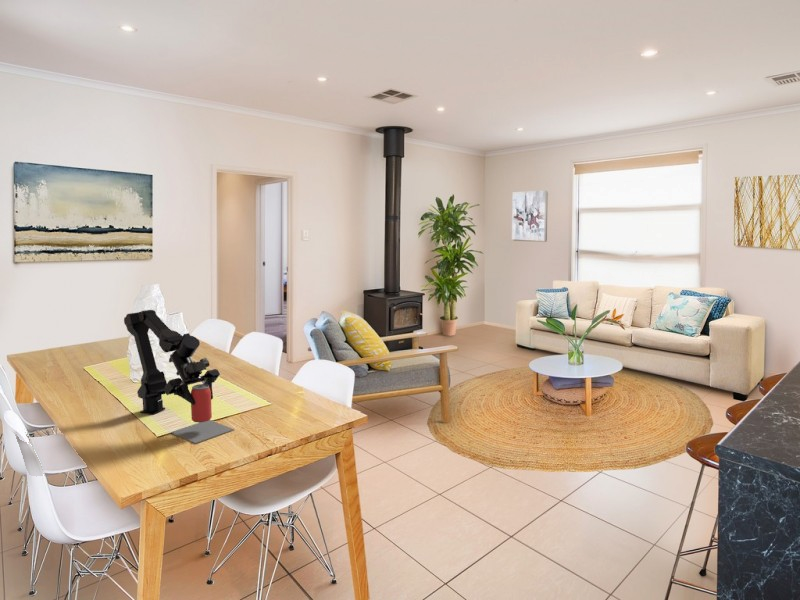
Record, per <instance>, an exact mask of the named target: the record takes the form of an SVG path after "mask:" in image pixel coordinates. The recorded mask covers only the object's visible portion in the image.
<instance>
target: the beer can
mask: <svg viewBox="0 0 800 600" xmlns="http://www.w3.org/2000/svg"><path fill="white" fill-rule="evenodd" d="M190 393H191V395H192V397H193V399H194V401H195V404H194V405H192V404H191V403H190V407H191V408H190V409H191V410H190V411H191V414H190V415H191V420H192V421H193V422H194V423H200V422H206V421H208V420H212V414H213V413H212V400H211V390H210V388H209V385H207V384H203V383H201V384H199V383H198V384H195V385H193V386H191V391H190Z"/></svg>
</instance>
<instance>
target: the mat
mask: <svg viewBox="0 0 800 600" xmlns="http://www.w3.org/2000/svg"><path fill="white" fill-rule="evenodd" d="M233 431H235V429H234V428H232V427H229V426H227V425H224V424H222V423H219V422H217V421H214V420H212V419H210V420H208V421H206V422H196V423H195V424H191V425H187V426H185V427H182V428H179V429H175V430H173V431H171V432H170V434H172V435H174V436H176V437H178V438H180V439H183V440H184V441H187V442H190V443H192V444H195V445H198V444H200V443H203V442H205V441H209V440H211V439H213V438H217V437H219V436H222V435H225V434H227V433H231V432H233Z"/></svg>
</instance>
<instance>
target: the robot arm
mask: <svg viewBox="0 0 800 600" xmlns="http://www.w3.org/2000/svg"><path fill="white" fill-rule="evenodd" d="M123 323H124V325H125V326H126V330H127V331H128V332H129V334H131V335H132V336H133V338H134V341H135V344H136V345H135V346H136V348H137V353H138V357H139V360H140V365H141V369H142V376H141V378H140V386H139V388H138V390H137V393H136V394H137V396H138V398H139V399H142V410H140V411H139V413H141V414H143V413H144V414H149V415H155V414H157V413H160V412H162V411H164V410H166V407H165V406H164V405H163V403H164V401H163V398H162V395H166V396H170V395H174V396H178V397H180V398H182V399H183V400H185V401H186V402H188V403H190V405H191V404H192V405H194V404H195V401H194V399H193V397H192V395H191V391H190V389H189V385H194V384H199V383H201V384H207V385H209V388H210V390H211V401H212V400H213V399H214V394H213V383H215V382H216V380H217V379H218V378H219V376H220V375H221V373H220V371H219V369H217V368H214V369H209V370H207V368H208V367H210V361H209V359H208V358H207V357H204V358H201V359H200V360H199V361H193V360H192V359H191V357H193V356H194V354H195V353H196V351H197V350H198V348H199V347H200V344H201V343H200V340H199V338H197V337H195V336H194V335H191V334H190V333H183V335H182V334H181V333H179V332H178V331H176V330H172V329H170V327H168V326H167V325H166V324H165V322H164V321H163V320H162V319H161V317H159V316H158V314H157V313H156V310H154V309H147V310H146V309H145V310H141V311H139V312H130V313H126V316H125V317H124V318H123ZM149 330H150V331H151V332H153V334H154V335H155V336H156V338H157V339H158V345H159V347H160V349H161V350H162V351H163V352H164V353H170V352H172V354H169V358H168V362H169V363H173V365H174V367H175V369H176V373H175V374H176V375H177V376H179V377H178V378H172V379H169V380H168V381H167V380H166V377H165V373H164V371H160V370H159V369H158V367H157V363H156V360H155V356H154V352H153V348H152V344H151V341H150V337H149ZM205 370H206V372H205V373H204V375H202V373H203V371H205ZM200 375H201V376H200Z"/></svg>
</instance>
